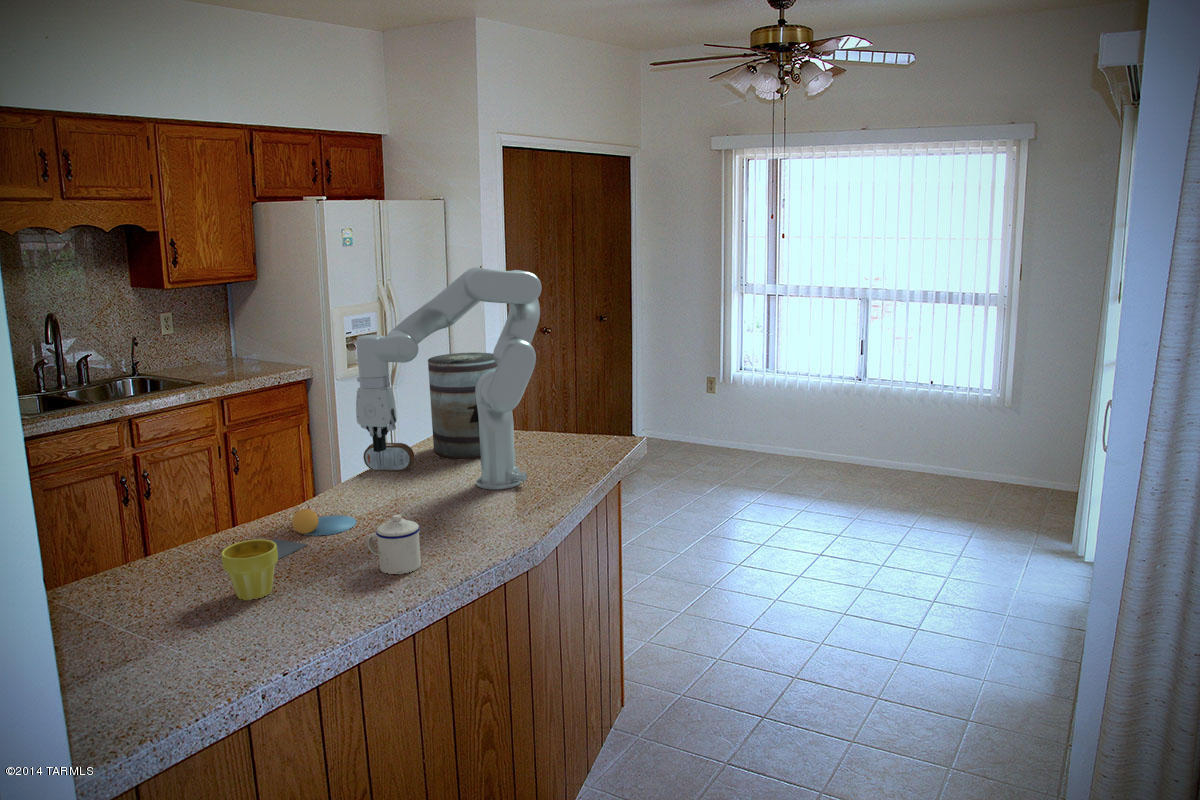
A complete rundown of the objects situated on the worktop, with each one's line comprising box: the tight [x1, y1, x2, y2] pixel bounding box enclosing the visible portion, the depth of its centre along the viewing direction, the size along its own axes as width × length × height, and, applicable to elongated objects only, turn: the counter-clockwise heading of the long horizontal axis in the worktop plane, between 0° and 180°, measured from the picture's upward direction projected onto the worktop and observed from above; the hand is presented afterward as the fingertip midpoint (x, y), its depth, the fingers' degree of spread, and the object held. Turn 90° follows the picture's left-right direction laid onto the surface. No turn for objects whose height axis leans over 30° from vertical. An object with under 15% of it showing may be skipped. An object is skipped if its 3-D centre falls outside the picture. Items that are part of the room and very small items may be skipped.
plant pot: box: [221, 538, 279, 601], centre depth 177 cm, size 10×10×10 cm
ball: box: [291, 508, 319, 535], centre depth 211 cm, size 6×6×6 cm
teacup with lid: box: [366, 514, 422, 575], centre depth 189 cm, size 12×9×12 cm
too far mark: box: [271, 538, 309, 560], centre depth 202 cm, size 10×10×1 cm
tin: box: [363, 442, 415, 472], centre depth 262 cm, size 15×3×8 cm, turn 84°
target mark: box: [303, 515, 357, 537], centre depth 217 cm, size 14×14×1 cm
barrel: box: [427, 352, 498, 460], centre depth 281 cm, size 22×22×30 cm
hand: (380, 450), depth 233 cm, fingers closed
